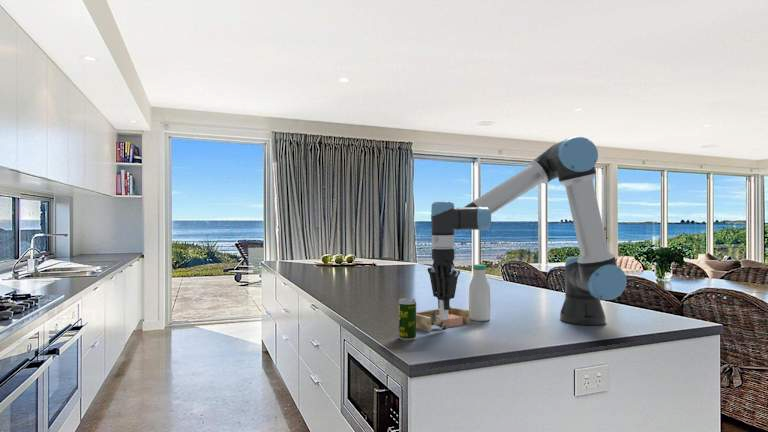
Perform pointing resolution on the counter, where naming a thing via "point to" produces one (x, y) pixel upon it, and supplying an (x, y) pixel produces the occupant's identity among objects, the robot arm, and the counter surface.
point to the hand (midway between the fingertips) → (444, 319)
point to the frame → (426, 320)
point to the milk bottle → (479, 295)
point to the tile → (453, 320)
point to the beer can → (407, 319)
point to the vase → (437, 320)
